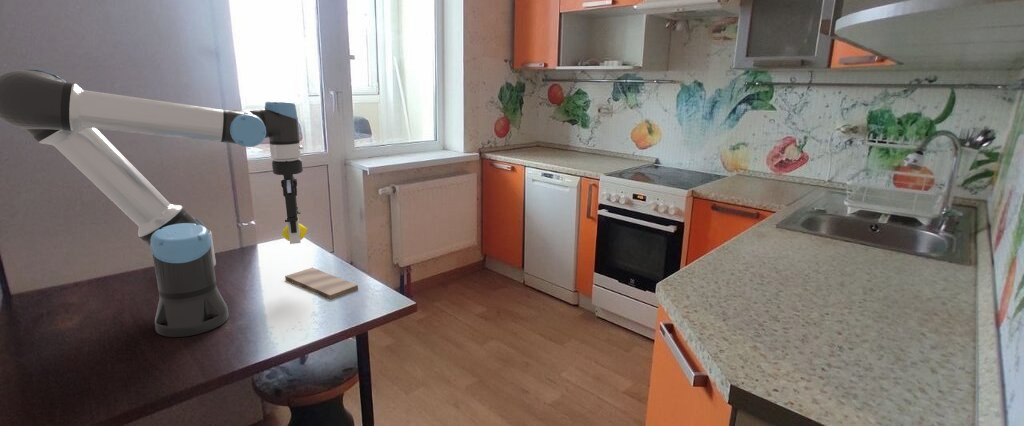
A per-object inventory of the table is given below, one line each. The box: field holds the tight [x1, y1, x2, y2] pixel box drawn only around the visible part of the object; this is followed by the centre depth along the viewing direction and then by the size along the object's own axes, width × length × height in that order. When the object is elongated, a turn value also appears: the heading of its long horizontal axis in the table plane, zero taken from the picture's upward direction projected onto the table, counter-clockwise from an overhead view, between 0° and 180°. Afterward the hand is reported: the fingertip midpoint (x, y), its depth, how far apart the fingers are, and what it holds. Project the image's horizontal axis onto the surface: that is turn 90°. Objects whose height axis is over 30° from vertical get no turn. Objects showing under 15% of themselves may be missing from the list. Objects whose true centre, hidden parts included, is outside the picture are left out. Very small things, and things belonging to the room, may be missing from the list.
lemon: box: [281, 222, 309, 242], centre depth 145 cm, size 7×5×5 cm
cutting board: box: [284, 267, 359, 300], centre depth 148 cm, size 22×9×1 cm, turn 54°
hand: (295, 239), depth 146 cm, fingers closed on lemon, 5 cm apart
